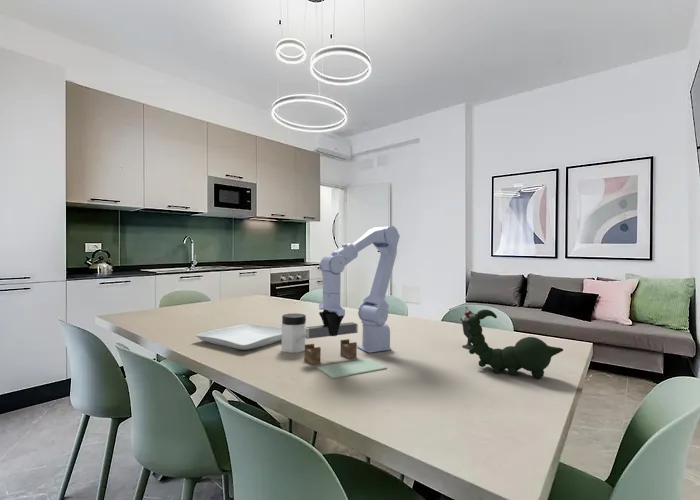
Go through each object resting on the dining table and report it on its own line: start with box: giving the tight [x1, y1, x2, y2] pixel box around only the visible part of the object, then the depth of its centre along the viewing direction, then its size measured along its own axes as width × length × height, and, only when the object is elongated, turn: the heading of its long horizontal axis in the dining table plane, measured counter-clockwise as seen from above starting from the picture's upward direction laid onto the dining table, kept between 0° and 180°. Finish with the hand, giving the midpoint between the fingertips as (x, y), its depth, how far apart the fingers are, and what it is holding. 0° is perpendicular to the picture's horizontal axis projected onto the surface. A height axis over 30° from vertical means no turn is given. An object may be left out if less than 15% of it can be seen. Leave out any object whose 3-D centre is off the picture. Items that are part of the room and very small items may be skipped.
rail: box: [304, 321, 359, 340], centre depth 118 cm, size 18×3×3 cm, turn 120°
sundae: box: [459, 306, 477, 350], centre depth 134 cm, size 7×7×15 cm
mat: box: [316, 358, 388, 379], centre depth 109 cm, size 18×10×1 cm, turn 120°
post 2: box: [339, 338, 358, 359], centre depth 122 cm, size 3×6×5 cm, turn 30°
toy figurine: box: [467, 309, 564, 380], centre depth 106 cm, size 9×19×25 cm
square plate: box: [194, 323, 282, 351], centre depth 140 cm, size 27×27×4 cm
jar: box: [281, 313, 307, 354], centre depth 128 cm, size 9×8×12 cm
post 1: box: [303, 343, 322, 365], centre depth 115 cm, size 3×6×5 cm, turn 30°
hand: (331, 334), depth 118 cm, fingers closed on rail, 3 cm apart
